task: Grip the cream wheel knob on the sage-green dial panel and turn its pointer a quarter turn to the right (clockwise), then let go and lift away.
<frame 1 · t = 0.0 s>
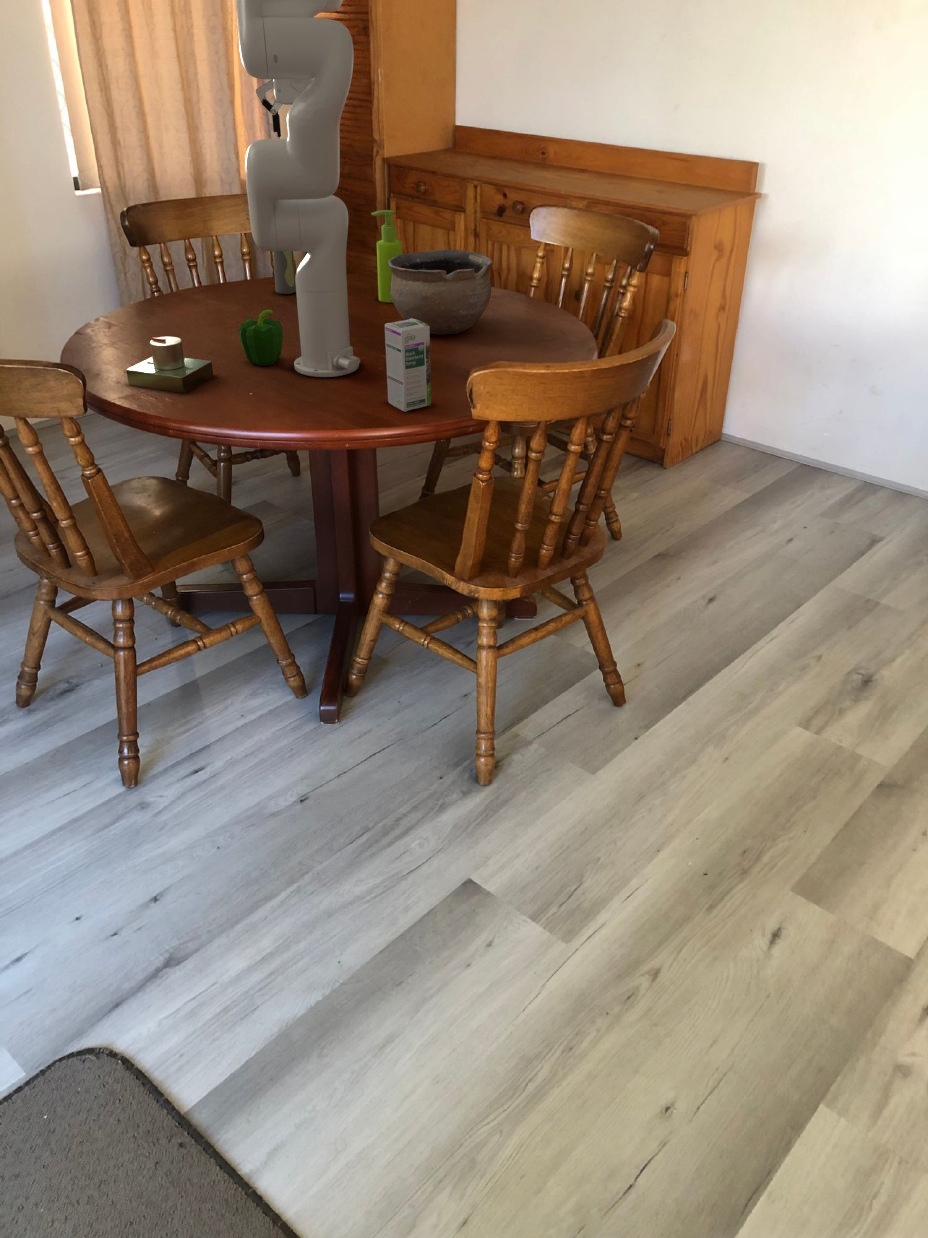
hand: (303, 135, 197), 37 cm above the table, tool pointing down, fingers open, 9 cm apart
dial: (167, 352, 180), point 5 cm above the table, hinge at 0.0°
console: (171, 380, 183), on the table
ceramic bowl: (440, 330, 212), on the table
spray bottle: (286, 293, 237), on the table
bell pepper: (264, 363, 192), on the table
syrup box: (409, 405, 174), on the table
soap dispenser: (388, 300, 232), on the table
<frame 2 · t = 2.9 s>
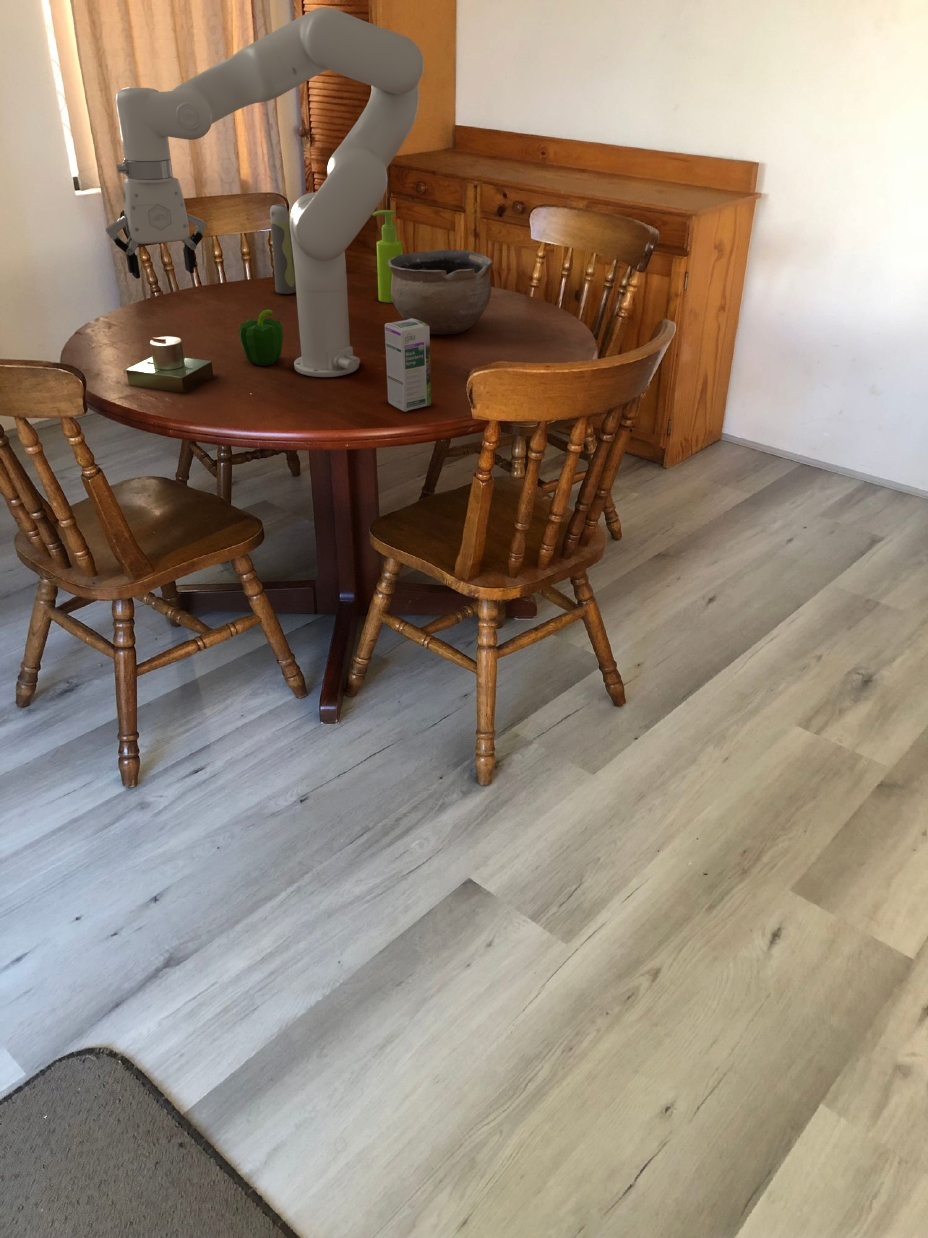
hand: (163, 274, 174), 19 cm above the table, tool pointing down, fingers open, 9 cm apart
nothing on the table moved.
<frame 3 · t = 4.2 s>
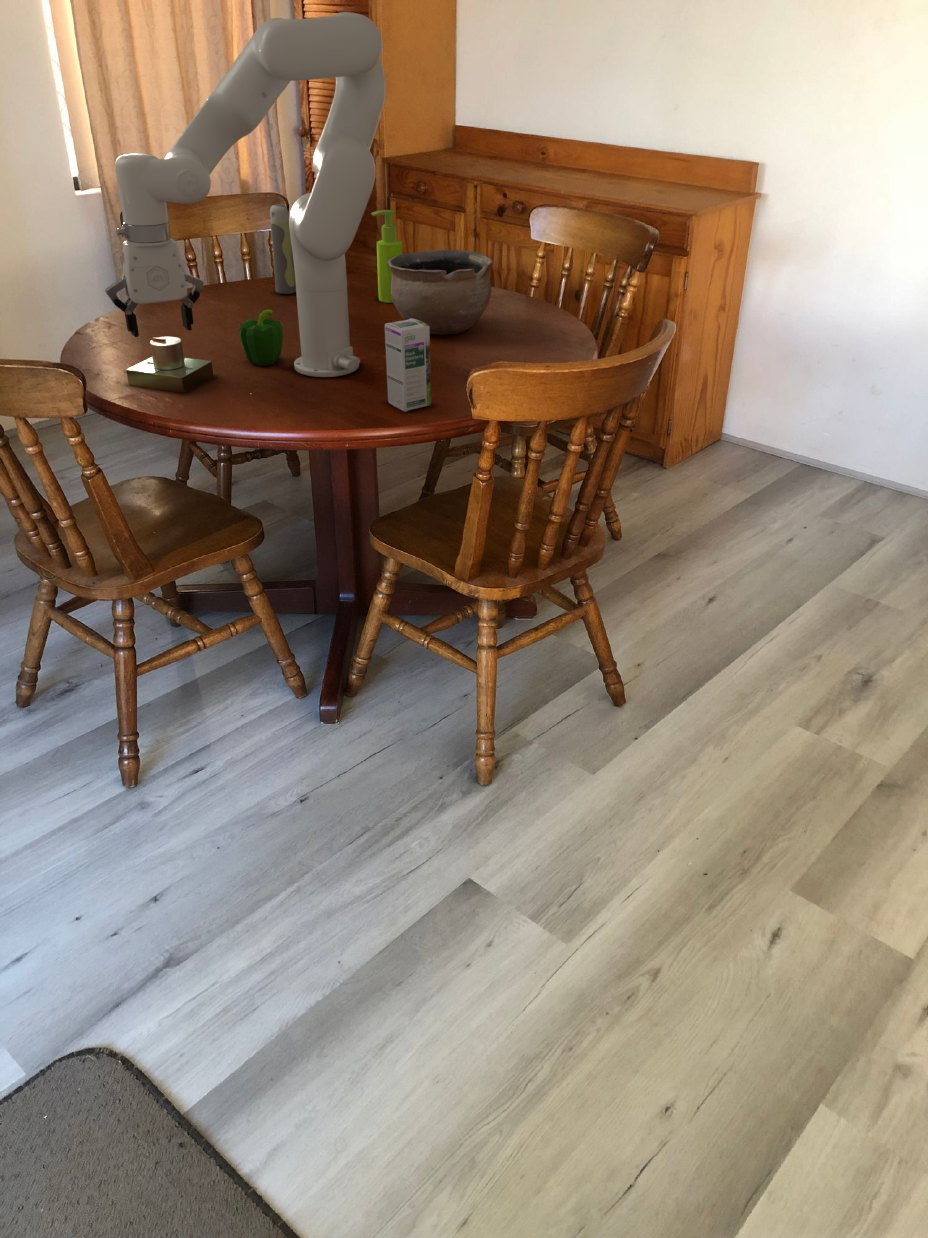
hand: (161, 331, 177), 9 cm above the table, tool pointing down, fingers open, 9 cm apart
nothing on the table moved.
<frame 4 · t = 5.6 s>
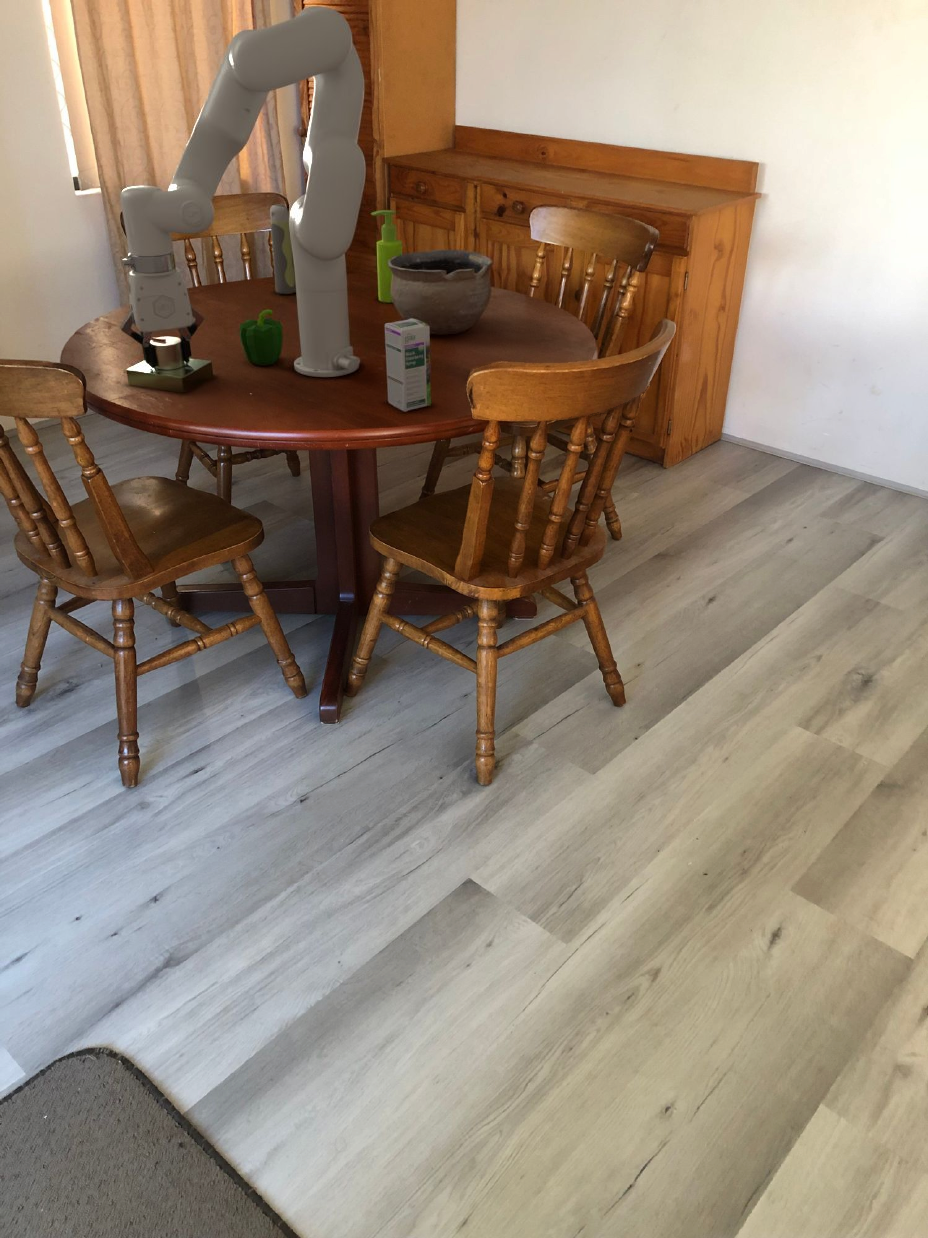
hand: (168, 362, 181), 4 cm above the table, tool pointing down, fingers closed on dial, 5 cm apart
dial: (167, 352, 180), point 5 cm above the table, hinge at 0.0°, touching gripper
everything else where it was.
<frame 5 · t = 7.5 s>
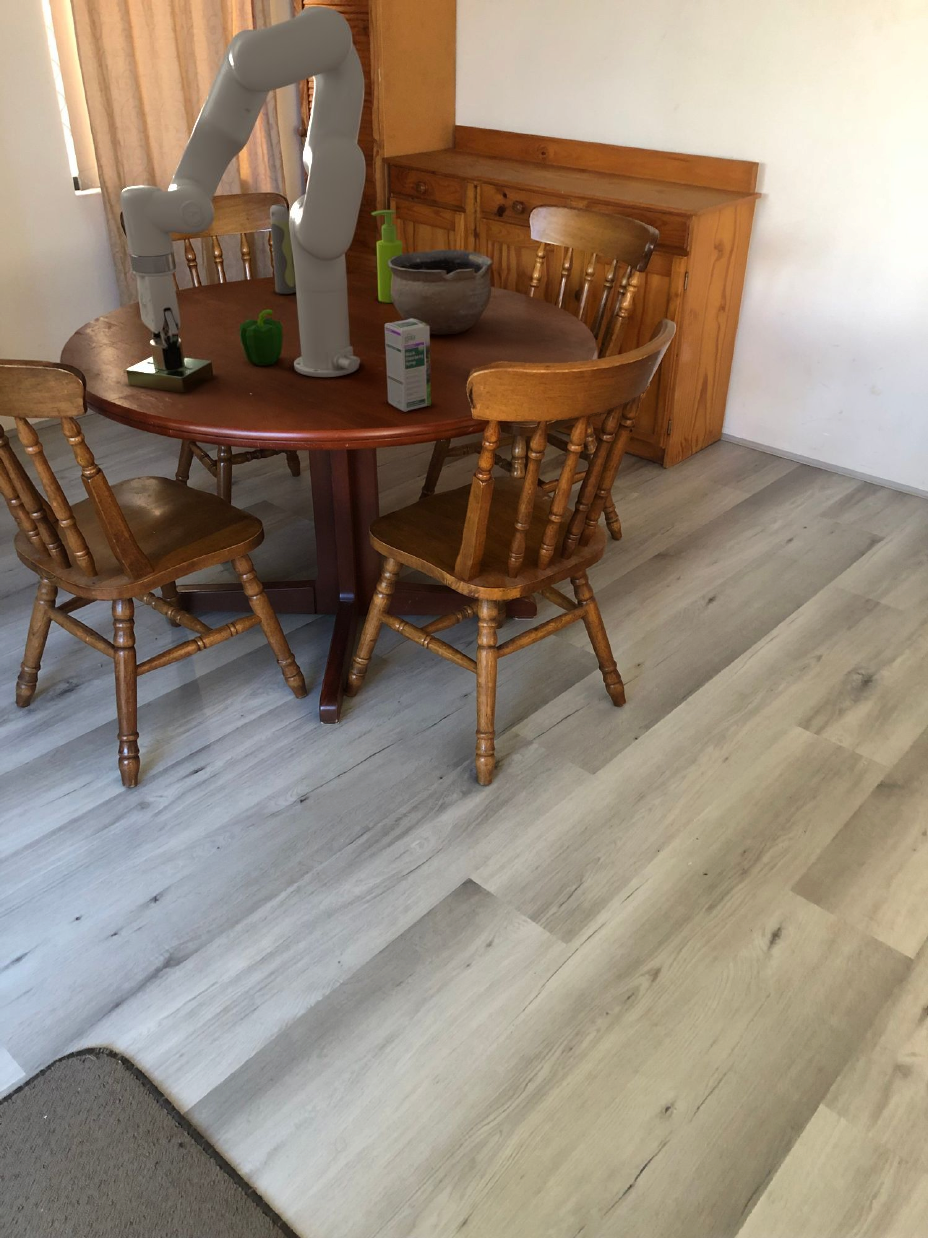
hand: (169, 362, 181), 4 cm above the table, tool pointing down, fingers closed on dial, 5 cm apart
dial: (167, 352, 180), point 5 cm above the table, hinge at -90.1°, touching gripper
everything else where it was.
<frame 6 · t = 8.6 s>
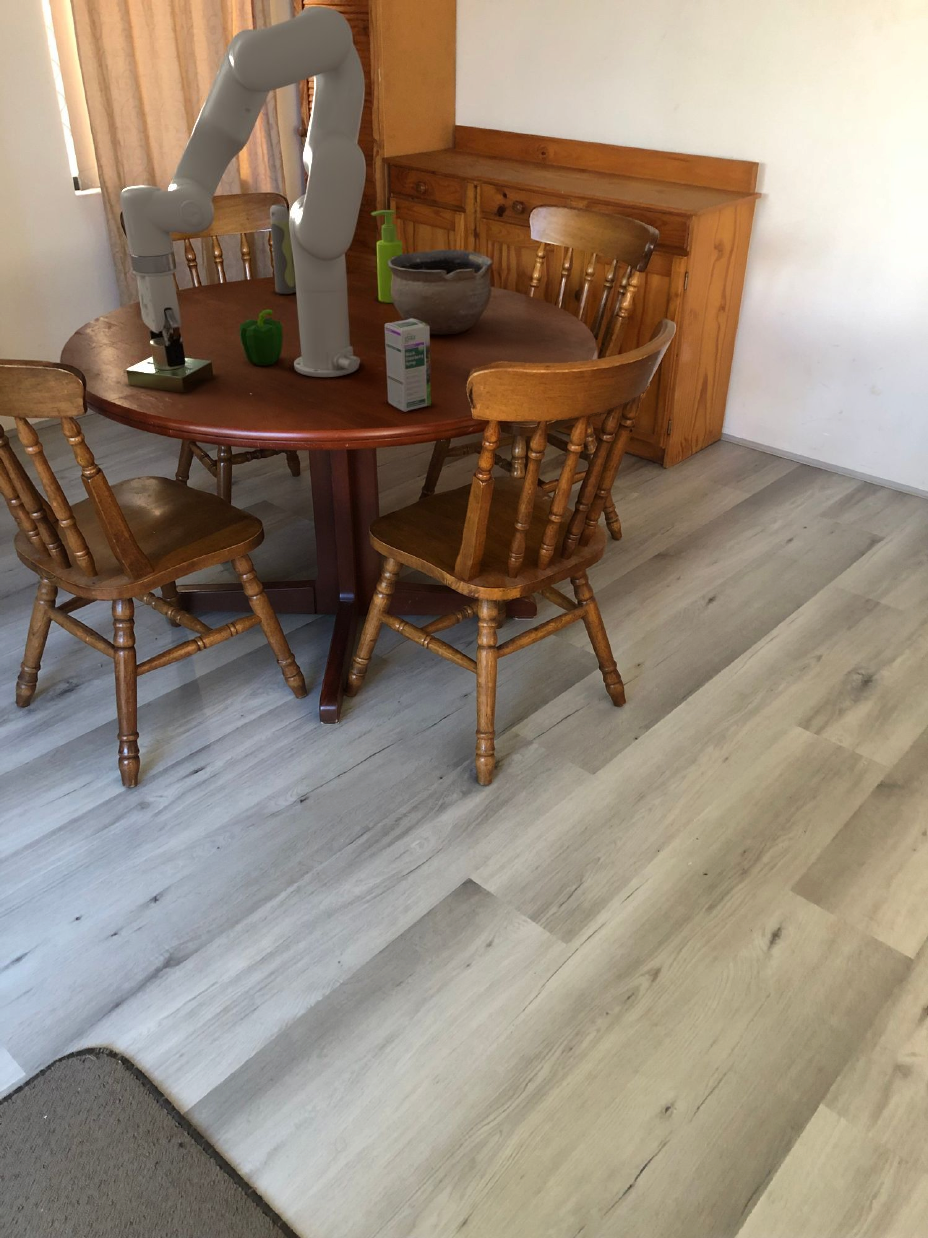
hand: (169, 358, 180), 4 cm above the table, tool pointing down, fingers open, 9 cm apart
dial: (167, 352, 180), point 5 cm above the table, hinge at -90.4°
everything else where it was.
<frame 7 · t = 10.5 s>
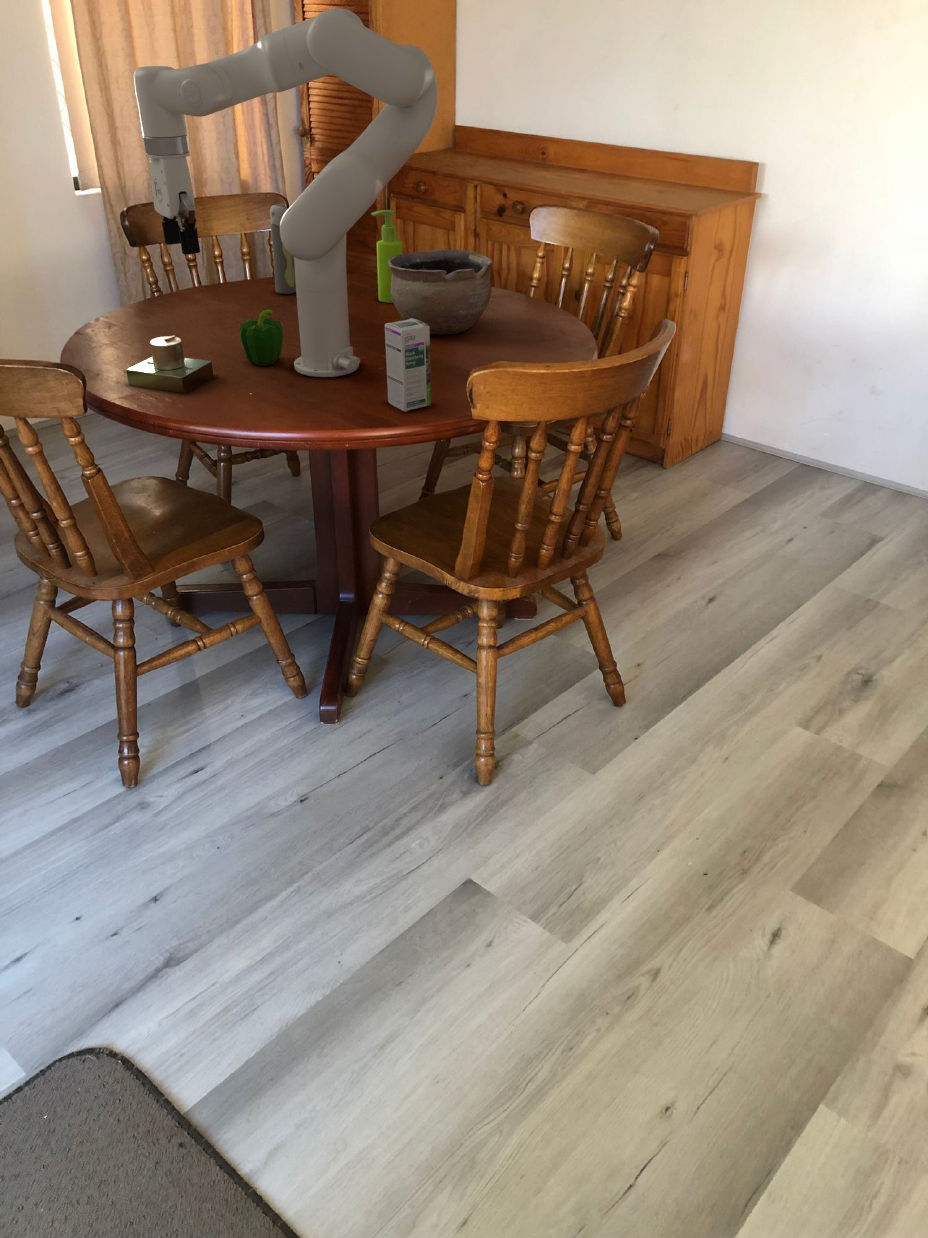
hand: (182, 248, 180), 22 cm above the table, tool pointing down, fingers open, 9 cm apart
nothing on the table moved.
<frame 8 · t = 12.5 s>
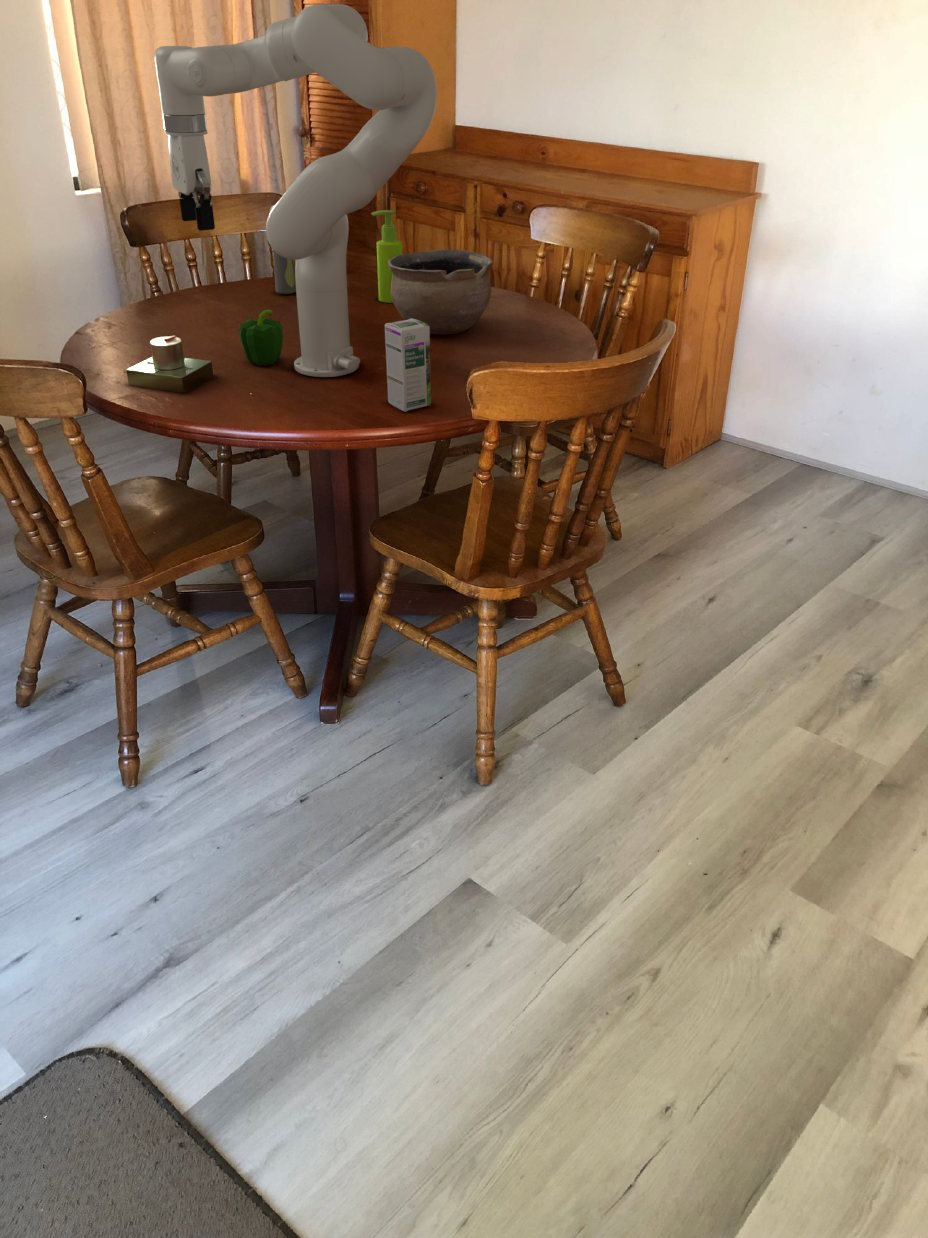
hand: (198, 224, 185), 24 cm above the table, tool pointing down, fingers open, 9 cm apart
nothing on the table moved.
at the end: dial at -90° (first picture: +0°); the gripper is holding nothing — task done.
